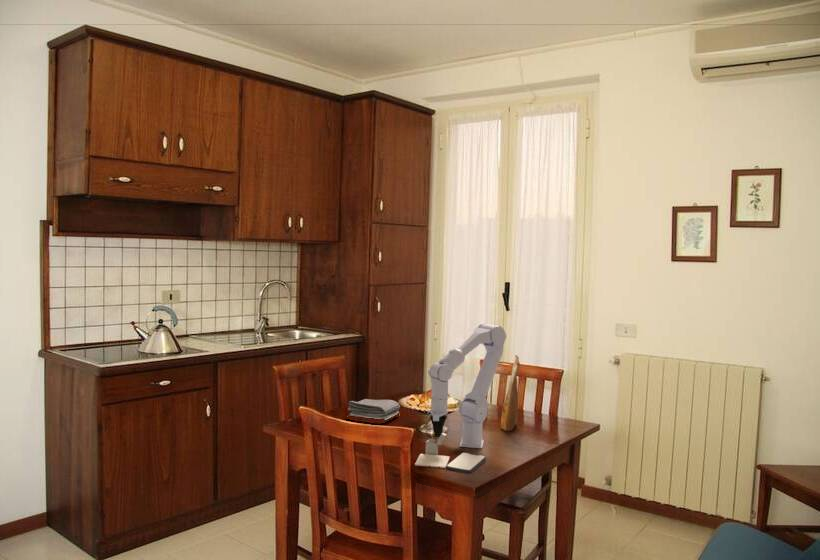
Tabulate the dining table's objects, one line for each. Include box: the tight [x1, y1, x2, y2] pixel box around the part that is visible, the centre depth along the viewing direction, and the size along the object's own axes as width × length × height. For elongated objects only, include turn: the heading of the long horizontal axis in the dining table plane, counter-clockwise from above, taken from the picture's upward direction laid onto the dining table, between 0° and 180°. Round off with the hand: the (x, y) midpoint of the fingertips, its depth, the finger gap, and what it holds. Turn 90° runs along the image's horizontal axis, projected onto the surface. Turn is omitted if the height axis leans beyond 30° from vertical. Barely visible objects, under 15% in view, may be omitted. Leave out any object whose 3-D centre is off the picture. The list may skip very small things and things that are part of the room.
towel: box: [347, 398, 401, 420], centre depth 262 cm, size 15×18×8 cm
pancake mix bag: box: [500, 354, 521, 432], centre depth 256 cm, size 7×19×28 cm, turn 165°
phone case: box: [445, 452, 487, 474], centre depth 208 cm, size 9×2×16 cm
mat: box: [414, 453, 451, 469], centre depth 210 cm, size 11×10×1 cm
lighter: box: [424, 431, 447, 455], centre depth 216 cm, size 7×2×8 cm, turn 61°
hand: (438, 436), depth 221 cm, fingers closed
